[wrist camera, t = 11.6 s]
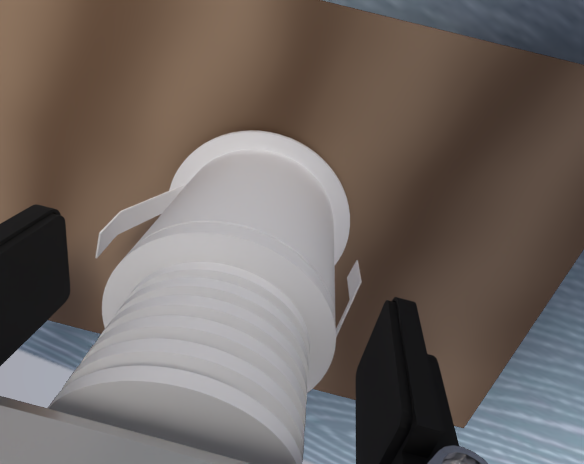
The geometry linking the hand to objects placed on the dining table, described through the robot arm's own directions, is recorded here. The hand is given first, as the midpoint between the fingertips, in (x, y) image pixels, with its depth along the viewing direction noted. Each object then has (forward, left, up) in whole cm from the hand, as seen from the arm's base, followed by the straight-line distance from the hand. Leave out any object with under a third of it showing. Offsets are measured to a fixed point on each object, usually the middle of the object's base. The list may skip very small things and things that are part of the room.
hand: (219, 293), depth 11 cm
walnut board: (0, 0, -6) cm, 6 cm away
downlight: (0, 0, -5) cm, 5 cm away
